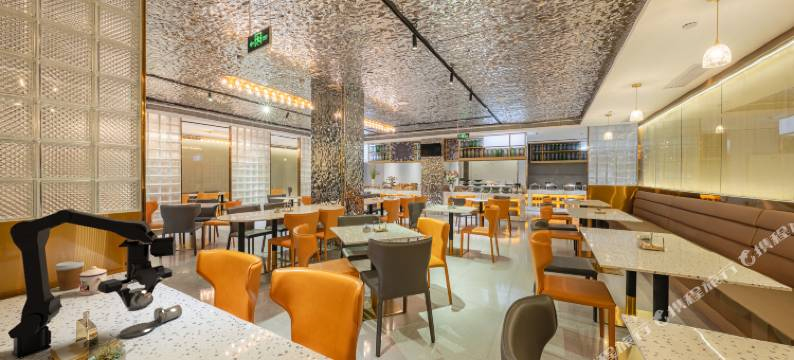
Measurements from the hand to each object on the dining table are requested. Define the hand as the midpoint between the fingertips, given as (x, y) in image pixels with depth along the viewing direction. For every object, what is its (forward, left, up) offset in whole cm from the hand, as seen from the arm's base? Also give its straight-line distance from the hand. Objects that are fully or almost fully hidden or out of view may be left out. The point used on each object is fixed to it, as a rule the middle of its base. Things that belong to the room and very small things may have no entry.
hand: (137, 304), depth 102 cm
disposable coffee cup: (+7, +76, -10) cm, 77 cm away
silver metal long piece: (+4, 0, -9) cm, 10 cm away
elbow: (0, -2, -1) cm, 2 cm away
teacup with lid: (+10, +59, -10) cm, 61 cm away
